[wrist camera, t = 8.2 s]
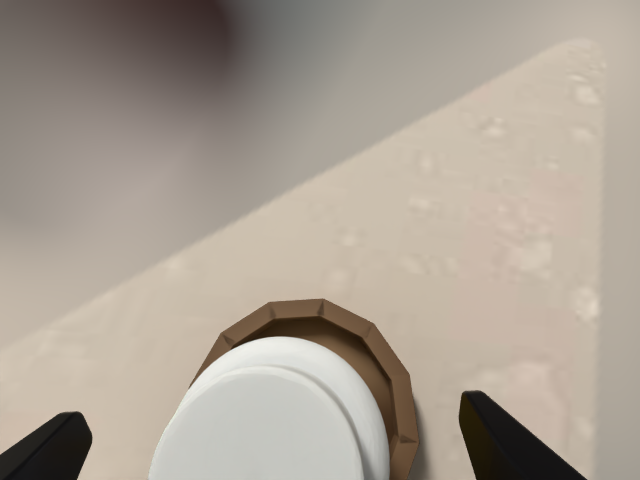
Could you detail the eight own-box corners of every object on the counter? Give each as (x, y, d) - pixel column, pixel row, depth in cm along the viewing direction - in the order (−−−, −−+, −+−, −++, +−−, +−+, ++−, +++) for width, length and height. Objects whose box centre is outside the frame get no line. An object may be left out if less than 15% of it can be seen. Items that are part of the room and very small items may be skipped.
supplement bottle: (374, 480, 14) (450, 694, 5) (245, 496, 14) (68, 741, 5) (354, 344, 16) (381, 308, 7) (241, 358, 16) (112, 341, 7)
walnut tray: (426, 536, 14) (438, 557, 12) (190, 547, 14) (170, 570, 13) (393, 299, 18) (399, 291, 16) (206, 311, 18) (193, 304, 16)
